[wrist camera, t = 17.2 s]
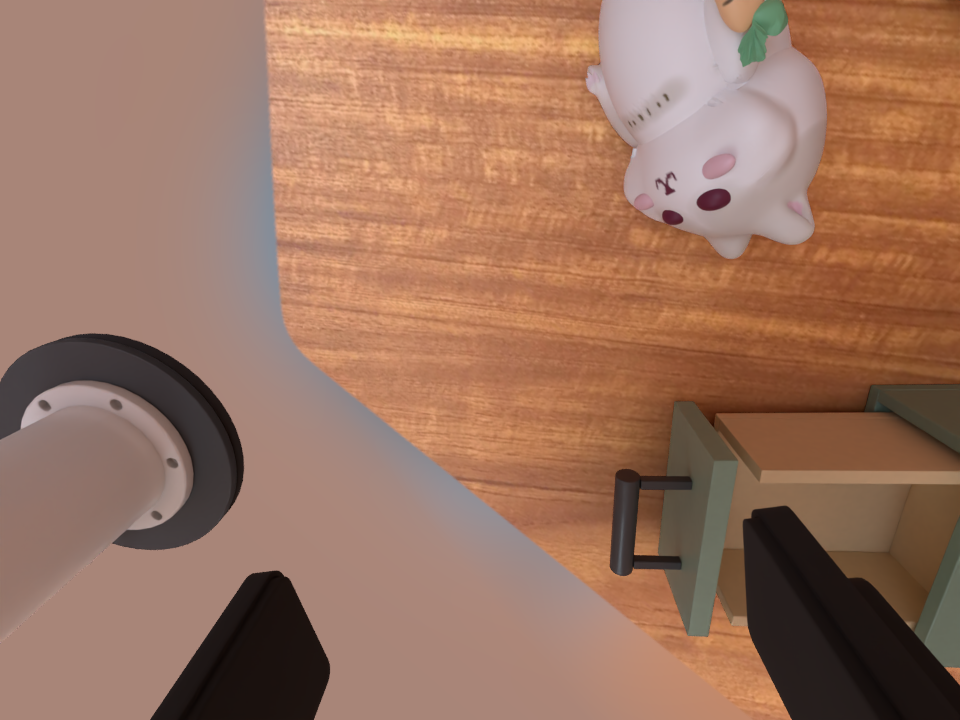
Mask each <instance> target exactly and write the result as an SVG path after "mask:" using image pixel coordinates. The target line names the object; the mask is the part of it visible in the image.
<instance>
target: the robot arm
mask: <svg viewBox="0 0 960 720" xmlns="http://www.w3.org/2000/svg"><path fill="white" fill-rule="evenodd" d="M193 475H194V472H193V466H192V460H191V457H190V454H189V452H188V449H187V446H186V444H185V443H184V441H183V439H182V437H181V436H180V434H179V432H178V431H177V430H176V428H175V427H174V426H173V425H172V423H171V422H170V421H169V420H168V419H167V418H166V417H165V416H164V415H163V414H162V413H161V412H160V411H159V410H158V409H157V408H155V407H154V406H153V405H151V404H150V403H148V402H147V401H146V400H144V399H143V398H141V397H140V396H138V395H136V394H134V393H132V392H130V391H128V390H126V389H124V388H121V387H118V386H115V385H112V384H109V383H104V382H98V381H92V380H82V381H72V382H67V383H63V384H60V385H58V386H56V387H54V388H51V389H49V390H47V391H45V392H43V393H41V394H40V395H38V396H37V397H35V398H34V400H33V401H32V402H31V403H30V404H29V406H28V407H27V408H26V411H25V413H24V415H23V418H22V422H21V429H20V430H19V431H17V432H15V433H13V434H11V435H9V436H7V437H5V438H3V439H1V440H0V643H1V642H2V641H4V640H5V639H6V638H7V637H8V636H9V635H10V634H11V633H12V632H14V631H15V630H16V629H17V628H18V627H19V626H20V625H21V624H22V623H24V622H25V621H26V620H27V619H28V618H29V617H30V616H31V615H32V614H34V613H35V612H36V611H37V610H38V609H39V608H40V607H41V606H42V605H44V604H45V603H46V602H47V601H48V600H49V599H50V598H51V597H52V596H54V595H55V594H56V593H57V592H58V591H59V590H60V589H61V588H63V587H64V586H65V585H66V584H67V583H68V582H69V581H70V580H71V579H73V578H74V577H75V576H76V575H77V574H78V573H79V572H80V571H81V570H82V569H84V568H85V567H86V566H87V565H89V564H90V563H92V561H93V560H94V559H95V558H96V557H97V556H98V555H99V554H100V553H101V552H103V551H104V550H105V549H106V548H107V547H108V546H109V545H110V544H111V543H113V542H114V541H115V540H116V539H117V538H118V537H119V536H120V535H121V534H123V533H124V532H125V531H126V530H140V529H146V528H152V527H154V526H157V525H160V524H162V523H164V522H165V521H167V520H168V519H170V518H171V517H172V516H173V515H174V514H175V513H176V512H177V511H178V510H179V509H181V508H182V507H183V505H184V504H185V502H186V501H187V499H188V498H189V496H190V493H191V490H192V487H193ZM743 544H744V565H745V586H746V607H747V623H748V628H749V632H750V635H751V638H752V641H753V643H754V645H755V647H756V649H757V651H758V653H759V655H760V657H761V659H762V661H763V663H764V665H765V667H766V669H767V671H768V673H769V675H770V677H771V679H772V681H773V683H774V685H775V687H776V689H777V691H778V693H779V695H780V697H781V699H782V701H783V703H784V705H785V707H786V709H787V711H788V713H789V715H790V717H791V719H792V720H960V685H959V684H958V683H957V681H956V680H955V679H954V678H953V677H952V676H951V675H950V673H949V672H948V671H947V670H946V669H945V668H944V666H943V665H942V664H941V663H940V662H939V661H938V660H937V658H936V657H935V656H934V655H933V654H932V653H931V651H930V650H929V649H928V648H927V647H926V646H925V644H924V643H923V642H922V641H921V640H920V639H919V638H918V636H917V635H916V634H915V633H914V632H913V631H912V629H911V628H910V627H909V626H908V625H907V624H906V623H905V621H904V620H903V619H902V618H901V617H900V616H899V614H898V613H897V612H896V611H895V610H894V609H893V607H892V606H891V605H890V604H889V603H888V602H887V601H886V599H885V598H884V597H883V596H882V595H881V594H880V592H879V591H878V590H877V589H876V588H875V587H874V586H873V585H872V584H871V583H870V582H868V581H867V580H865V579H863V578H858V577H855V578H847V577H846V575H845V574H844V573H843V572H842V570H841V569H840V568H839V567H838V566H837V564H836V563H835V562H834V561H833V559H832V558H831V557H830V556H829V555H828V553H827V552H826V551H825V550H824V548H823V547H822V546H821V545H820V544H819V542H818V541H817V540H816V539H815V537H814V536H813V535H812V534H811V532H810V531H809V530H808V529H807V528H806V526H805V525H804V524H803V523H802V521H801V520H800V519H799V518H798V517H797V515H796V514H795V513H794V512H793V511H792V510H791V509H790V508H789V507H788V506H786V505H785V506H777V507H769V508H761V509H754V510H753V511H752V513H751V518H748V519H744V520H743ZM329 675H330V664H329V661H328V658H327V657H326V654H325V652H324V650H323V648H322V646H321V644H320V642H319V640H318V638H317V635H316V633H315V631H314V629H313V627H312V625H311V623H310V621H309V619H308V617H307V614H306V612H305V610H304V608H303V606H302V604H301V602H300V600H299V598H298V596H297V593H296V591H295V589H294V587H293V585H292V583H291V581H290V580H289V578H287V577H284V575H283V574H282V573H281V572H280V571H269V572H262V573H253V574H251V575H249V576H248V577H247V578H246V579H245V581H244V582H243V584H242V585H241V587H240V588H239V590H238V591H237V593H236V594H235V596H234V597H233V599H232V600H231V601H230V603H229V604H228V606H227V607H226V609H225V610H224V612H223V613H222V615H221V616H220V618H219V619H218V621H217V622H216V624H215V625H214V626H213V628H212V629H211V631H210V632H209V634H208V635H207V637H206V638H205V640H204V641H203V643H202V644H201V646H200V647H199V649H198V650H197V651H196V653H195V655H194V656H193V657H192V659H191V660H190V662H189V663H188V665H187V666H186V668H185V669H184V671H183V672H182V674H181V675H180V677H179V678H178V680H177V681H176V683H175V684H174V686H173V687H172V688H171V690H170V691H169V693H168V694H167V696H166V697H165V699H164V700H163V702H162V703H161V705H160V706H159V707H158V709H157V710H156V712H155V713H154V715H153V716H152V718H151V719H150V720H314V718H315V715H316V712H317V710H318V707H319V704H320V702H321V699H322V696H323V694H324V691H325V689H326V686H327V683H328V680H329Z"/></svg>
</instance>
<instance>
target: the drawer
mask: <svg viewBox="0 0 960 720" xmlns="http://www.w3.org/2000/svg"><path fill="white" fill-rule="evenodd" d="M640 489H642V490H665V492H664V501H663V510H662V519H661V529H660V538H659V547H658V554H659V556H647V555H634V547H635V536H636V524H637V513H638V501H639V490H640ZM785 505H786V506H788V507H789V508H790V509H791V510H792V511H793V512H794V513H795V514H796V515H797V517H798V518H799V519H800V520H801V521H802V523H803V524H804V525H805V526H806V528H807V529H808V530H809V531H810V532H811V534H812V535H813V536H814V537H815V539H816V540H817V541H818V542H819V544H820V545H821V546H822V547H823V548H824V550H825V551H826V552H827V553H828V555H829V556H830V557H831V558H832V559H833V561H834V562H835V563H836V564H837V566H838V567H839V568H840V569H841V570H842V572H843V573H844V574H845V575H846V577H847V578H855V577H858V578H863V579H865V580H867V581H868V582H870V583H871V584H872V585H873V586H874V587H875V588H876V589H877V590H878V591H879V592H880V594H881V595H882V596H883V597H884V598H885V599H886V601H887V602H888V603H889V604H890V605H891V606H892V607H893V609H894V610H895V611H896V612H897V613H898V614H899V616H900V617H901V618H902V619H903V620H904V621H905V623H906V624H907V625H908V626H909V627H910V628H911V629H912V631H913V632H914V631H915V628H916V625H917V623H918V620H919V618H920V615H921V613H922V610H923V607H924V605H925V602H926V600H927V597H928V595H929V592H930V589H931V587H932V584H933V582H934V579H935V577H936V574H937V572H938V569H939V566H940V564H941V561H942V559H943V556H944V554H945V551H946V548H947V546H948V543H949V541H950V538H951V536H952V533H953V530H954V528H955V525H956V523H957V520H958V518H959V515H960V454H959V453H958V452H956V451H955V450H953V449H951V448H950V447H948V446H947V445H945V444H944V443H942V442H940V441H939V440H937V439H936V438H934V437H933V436H931V435H929V434H928V433H926V432H925V431H923V430H922V429H920V428H918V427H917V426H915V425H914V424H912V423H911V422H909V421H907V420H906V419H904V418H903V417H901V416H900V415H898V414H896V413H895V412H865V413H716V415H715V422H714V428H713V426H712V425H711V424H710V422H709V421H708V420H707V419H706V417H705V416H704V415H703V413H702V412H701V411H700V409H699V408H698V407H697V405H696V404H695V403H694V402H693V401H675V402H674V410H673V419H672V429H671V438H670V447H669V456H668V465H667V474H666V476H640V475H639V474H638V473H637V472H636V471H633V470H630V469H621V470H619V471H617V472H616V476H615V491H614V507H613V523H612V538H611V554H610V568H611V570H612V571H613V572H614V573H615V574H617V575H620V576H627V575H629V574H631V572H632V570H633V568H634V569H664V571H665V574H666V576H667V579H668V582H669V585H670V588H671V590H672V593H673V596H674V599H675V601H676V604H677V607H678V610H679V612H680V615H681V618H682V621H683V624H684V626H685V629H686V632H687V635H688V636H706V637H708V635H709V629H710V623H711V617H712V612H713V606H714V600H715V594H716V593H717V595H718V597H719V599H720V602H721V604H722V606H723V608H724V610H725V612H726V614H727V617H728V619H729V621H730V623H731V625H732V626H748V623H747V607H746V586H745V565H744V544H743V520H744V519H748V518H751V513H752V511H753V510H754V509H761V508H769V507H777V506H785Z"/></svg>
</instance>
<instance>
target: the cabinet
mask: <svg viewBox="0 0 960 720" xmlns="http://www.w3.org/2000/svg"><path fill="white" fill-rule="evenodd" d="M865 412H895V413H896V414H898V415H900V416H901V417H903V418H904V419H906V420H907V421H909V422H911V423H912V424H914V425H915V426H917V427H918V428H920V429H922V430H923V431H925V432H926V433H928V434H929V435H931V436H933V437H934V438H936V439H937V440H939V441H940V442H942V443H944V444H945V445H947V446H948V447H950V448H951V449H953V450H955V451H956V452H958V453H959V454H960V384H927V385H872V386H871V389H870V392H869V396H868V400H867V403H866V407H865V411H864V413H865ZM914 633H915V634H916V635H917V636H918V638H919V639H920V640H921V641H922V642H923V643H924V644H925V646H926V647H927V648H928V649H929V650H930V651H931V653H932V654H933V655H934V656H935V657H936V658H937V660H938V661H939V662H940V663H941V664H942V665H943V666H944V667H955V668H960V515H959V518H958V520H957V523H956V525H955V528H954V530H953V533H952V536H951V538H950V541H949V543H948V546H947V548H946V551H945V554H944V556H943V559H942V561H941V564H940V566H939V569H938V572H937V574H936V577H935V579H934V582H933V584H932V587H931V589H930V592H929V595H928V597H927V600H926V602H925V605H924V607H923V610H922V613H921V615H920V618H919V620H918V623H917V625H916V628H915V631H914Z"/></svg>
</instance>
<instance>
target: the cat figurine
mask: <svg viewBox="0 0 960 720" xmlns="http://www.w3.org/2000/svg"><path fill="white" fill-rule="evenodd" d="M599 53H600V61H601V62H600V64H599V65H590V66H589V67H588V72H587V75H588V78H586V84H587V88H588V90H589V91H590V92H591V93H593V94H594V95H596V96H597V98H598V100H599V102H600V104H601V106H602V108H603V110H604V112H605V114H606V116H607V118H608V120H609V122H610V123H611V125H612V126H613V128H614V129H615V131H616V132H617V133H618V134H619V136H620V137H621V138H622V139H623V140H624V141H625V142H626V143H628V144H629V145H630V146H632V147H634V148H633V151H632V156H631V161H630V163H629V165H628V168H627V170H626V174H625V178H624V193H625V196H626V198H627V200H628V201H629V202H630V203H631V204H632V205H633V206H634V207H635V208H636V209H638V210H640V211H641V212H642V213H644V214H645V215H646V216H648V217H650V218H652V219H654V220H656V221H660V222H663V223H666V224H668V225H670V226H673V227H675V228H678V229H681V230H684V231H687V232H690V233H694V234H697V235H701V236H704V237H705V238H706V239H707V240H708V242H709V243H710V244H711V245H712V246H713V248H714V249H715V250H716V251H717V252H718V253H719V254H720V255H721V256H723V257H725V258H727V259H735V258H737V257H739V256H740V255H742V254H743V252H744V251H745V249H746V248H747V246H748V243H749V241H750V238H751V236H752V234H756V235H761V236H764V237H767V238H769V239H772V240H774V241H777V242H780V243H783V244H788V245H795V244H800V243H802V242H804V241H806V240H807V239H808V238H810V237H811V235H812V234H813V232H814V228H815V225H814V220H813V216H812V212H811V208H810V205H809V201H808V198H807V188H808V187H809V185H810V183H811V182H812V180H813V178H814V176H815V174H816V171H817V169H818V166H819V163H820V160H821V157H822V153H823V149H824V143H825V136H826V126H827V105H826V96H825V90H824V86H823V82H822V79H821V76H820V74H819V72H818V70H817V68H816V67H815V65H814V64H813V63H812V62H811V61H810V60H809V59H808V58H807V57H805V56H804V55H803V54H802V53H800V52H799V51H798V50H796V49H795V48H794V47H792V46H791V38H790V32H789V26H788V17H787V13H786V11H785V8H784V5H783V3H782V1H781V0H602V4H601V10H600V18H599ZM635 148H636V149H635Z"/></svg>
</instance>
